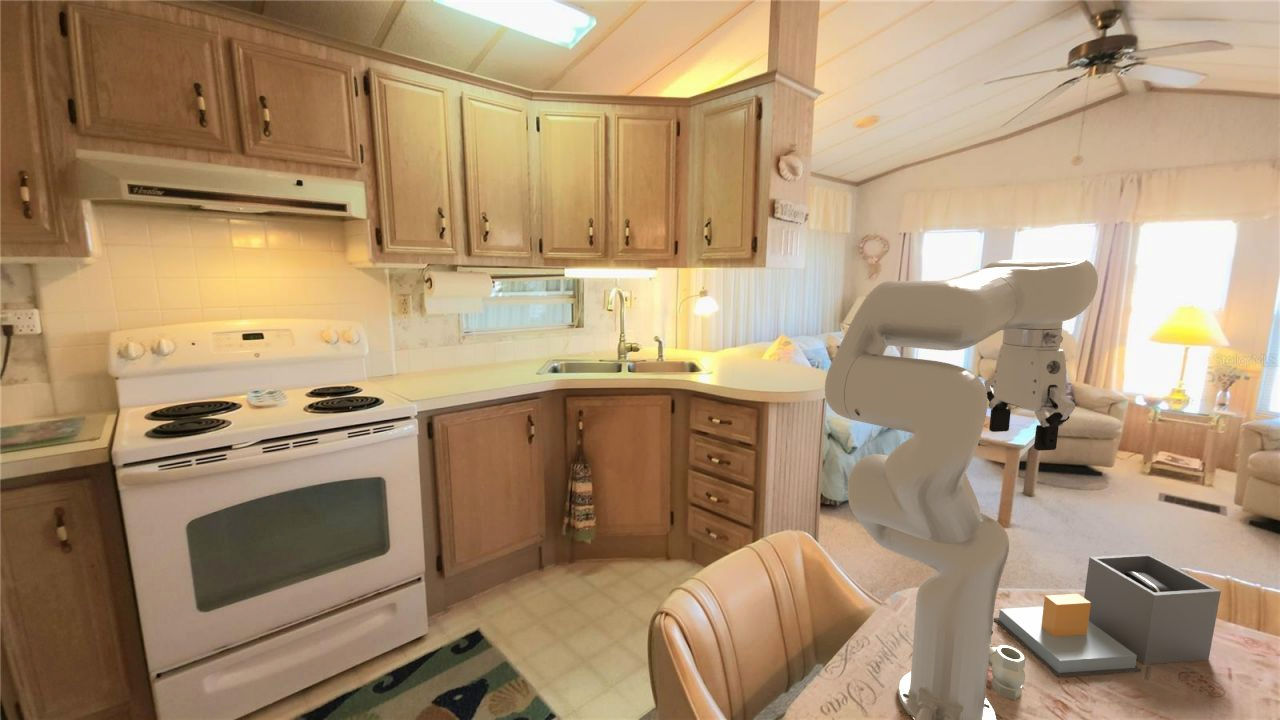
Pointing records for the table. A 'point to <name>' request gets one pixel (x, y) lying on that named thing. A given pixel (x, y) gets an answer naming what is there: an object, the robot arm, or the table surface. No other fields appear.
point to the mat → (1066, 674)
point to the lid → (1067, 635)
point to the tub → (1152, 609)
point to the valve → (1007, 671)
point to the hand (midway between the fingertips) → (1020, 439)
